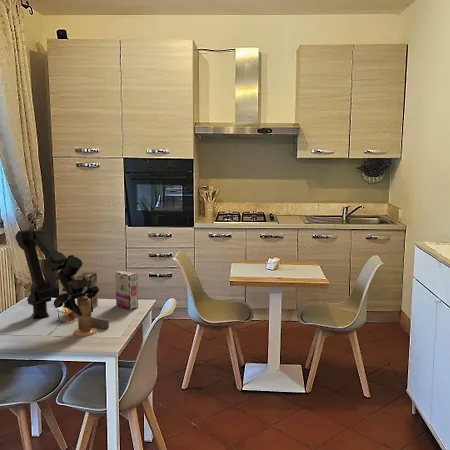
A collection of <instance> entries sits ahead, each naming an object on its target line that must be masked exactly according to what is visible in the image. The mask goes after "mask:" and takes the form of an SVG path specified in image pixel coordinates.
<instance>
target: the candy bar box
mask: <svg viewBox="0 0 450 450" xmlns="http://www.w3.org/2000/svg"><path fill="white" fill-rule="evenodd" d="M114 275H115V278H114V279H115V299H116V300H115V302H116V303H115V305H116V306H117V305H119V306H118V307H120V306H121V308H123V307H124V309H126V308H127V310H129V309H130V311H131V310H135V309H137V308H139V296H138V294H139V293H138V292H139V291H138V273H135V272H131V271H126V270H118V271H114Z"/></svg>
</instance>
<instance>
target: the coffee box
mask: <svg viewBox="0 0 450 450" xmlns="http://www.w3.org/2000/svg"><path fill="white" fill-rule="evenodd" d="M97 274H98V273H97V272H83V273H81V274H79V275H77V276H76V277H75V279H78V280H81V279H83V277H85V276H89V278H90V280H91V283H89V284H88V285H89V286H86V287H84V288H85V289H84V290H83V292H84V291H86V290H87V289H88V287H91V286H97V287H98V279H97V277H98V275H97ZM78 299H80V298H77V299H76V301H77V300H78ZM76 305H77V304H76ZM77 306H78V305H77ZM92 306H93V310H94V309H96V308H97V307H98V306H99V303H98V293H97V294H96V295H95V297H93V298H92Z"/></svg>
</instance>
